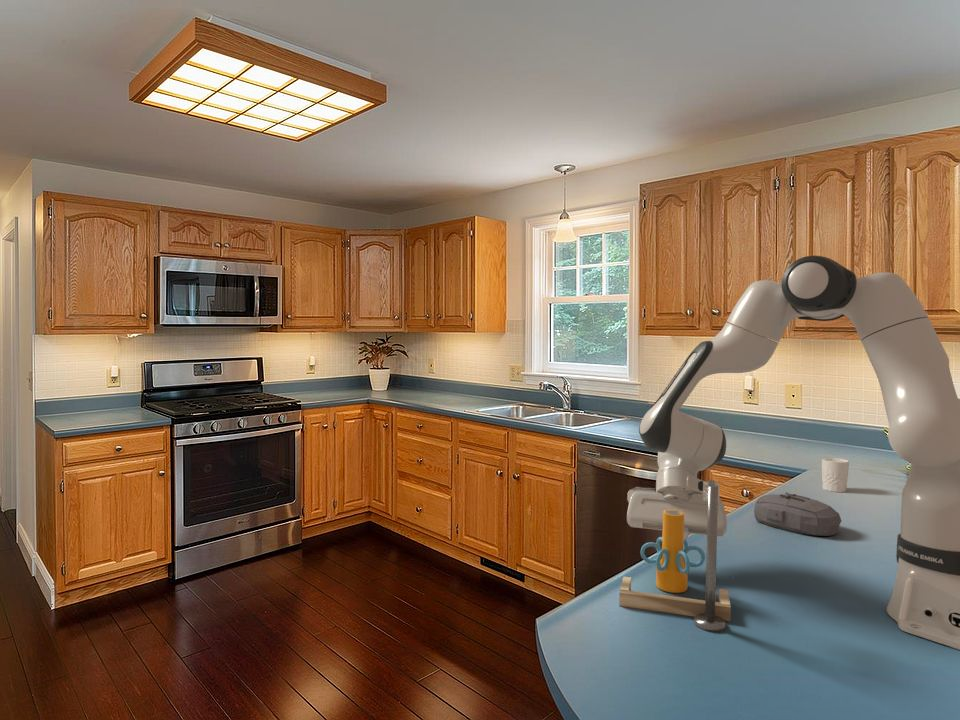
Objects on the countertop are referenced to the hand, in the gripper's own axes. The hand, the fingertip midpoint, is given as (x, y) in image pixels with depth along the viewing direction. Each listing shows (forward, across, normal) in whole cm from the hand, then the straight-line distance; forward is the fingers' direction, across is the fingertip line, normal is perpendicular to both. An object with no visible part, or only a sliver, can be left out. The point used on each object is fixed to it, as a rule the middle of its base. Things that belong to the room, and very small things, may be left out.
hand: (674, 548), depth 127 cm
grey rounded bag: (-29, +31, +38) cm, 57 cm away
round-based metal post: (+17, +6, -8) cm, 20 cm away
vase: (+8, 0, 0) cm, 8 cm away
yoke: (+14, 0, -6) cm, 15 cm away
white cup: (-64, +49, +73) cm, 108 cm away
